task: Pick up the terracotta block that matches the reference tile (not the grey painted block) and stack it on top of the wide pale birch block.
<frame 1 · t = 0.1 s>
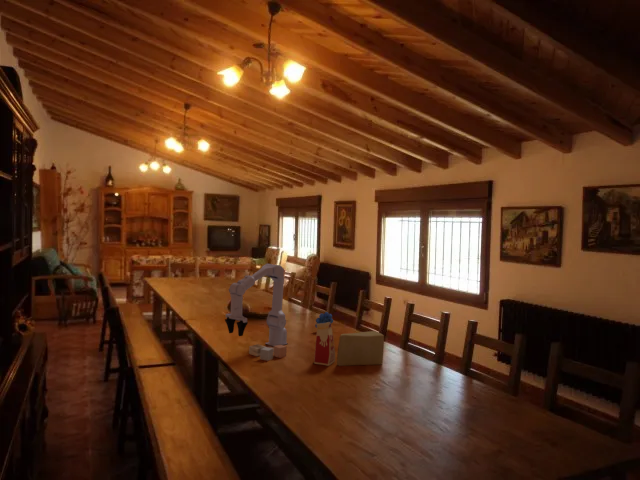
hand: (235, 334, 241), 10 cm above the table, tool pointing down, fingers open, 7 cm apart
grey painted block: (266, 358, 236), on the table
milk carton: (323, 362, 234), on the table
cheese: (358, 364, 234), on the table
terracotta block: (279, 356, 241), on the table
grapes: (323, 331, 296), on the table
birch base block: (257, 354, 243), on the table
reference tile: (269, 350, 251), on the table
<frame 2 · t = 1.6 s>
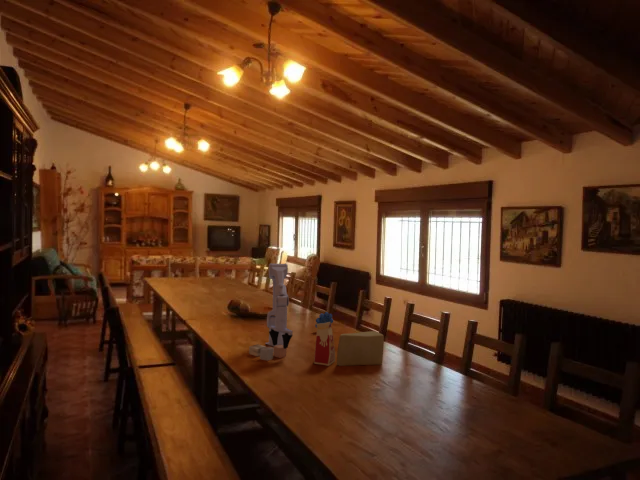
hand: (280, 346, 241), 5 cm above the table, tool pointing down, fingers open, 7 cm apart
nothing on the table moved.
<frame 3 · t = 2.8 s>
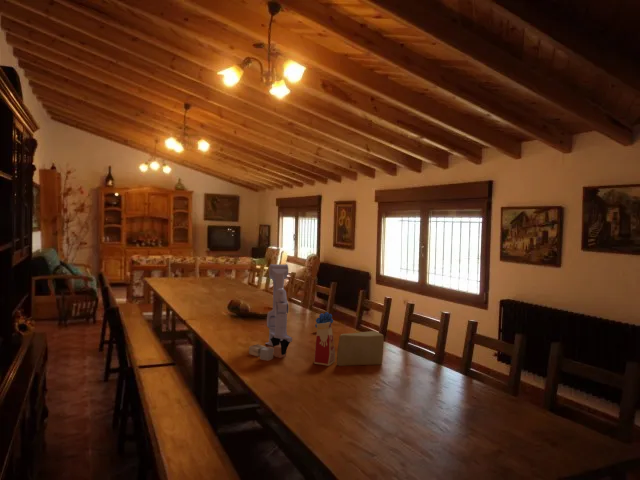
hand: (279, 353, 241), 1 cm above the table, tool pointing down, fingers closed on terracotta block, 4 cm apart
terracotta block: (279, 356, 241), on the table, touching gripper
everything else where it was.
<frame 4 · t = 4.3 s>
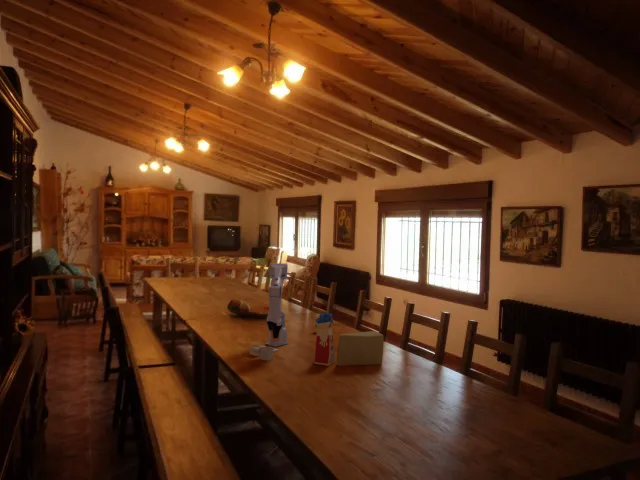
hand: (273, 336, 241), 9 cm above the table, tool pointing down, fingers closed on terracotta block, 4 cm apart
terracotta block: (273, 340, 241), point 7 cm above the table, touching gripper
everything else where it was.
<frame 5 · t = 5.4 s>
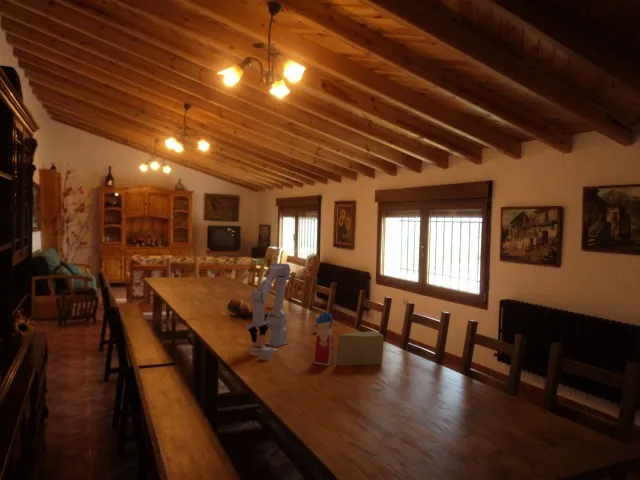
hand: (257, 340, 243), 7 cm above the table, tool pointing down, fingers closed on terracotta block, 4 cm apart
terracotta block: (257, 344, 243), point 5 cm above the table, touching gripper
everything else where it was.
when the fingers open (7 cm above the table, at t = 6.1 s): terracotta block stays where it is, resting on birch base block.
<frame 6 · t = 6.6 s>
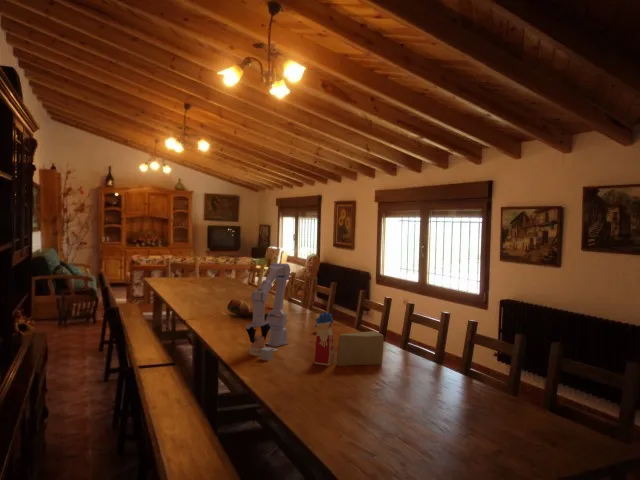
hand: (257, 340, 243), 7 cm above the table, tool pointing down, fingers open, 7 cm apart
terracotta block: (257, 346, 243), point 4 cm above the table, touching birch base block
birch base block: (257, 354, 243), on the table, touching terracotta block
everything else where it was.
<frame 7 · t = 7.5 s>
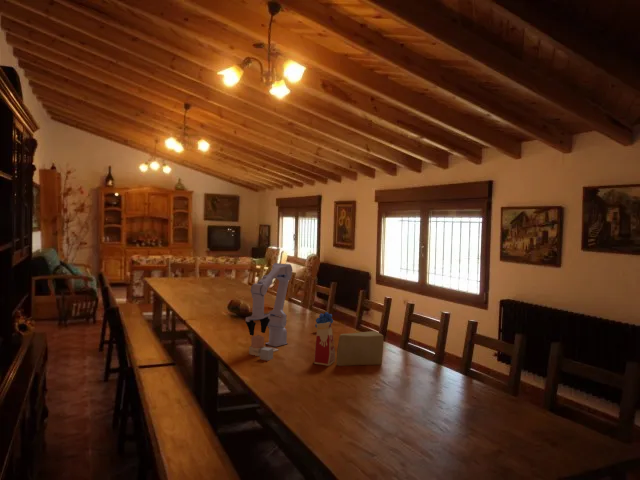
hand: (257, 333, 244), 10 cm above the table, tool pointing down, fingers open, 7 cm apart
terracotta block: (257, 346, 243), point 4 cm above the table
birch base block: (257, 354, 243), on the table
everything else where it was.
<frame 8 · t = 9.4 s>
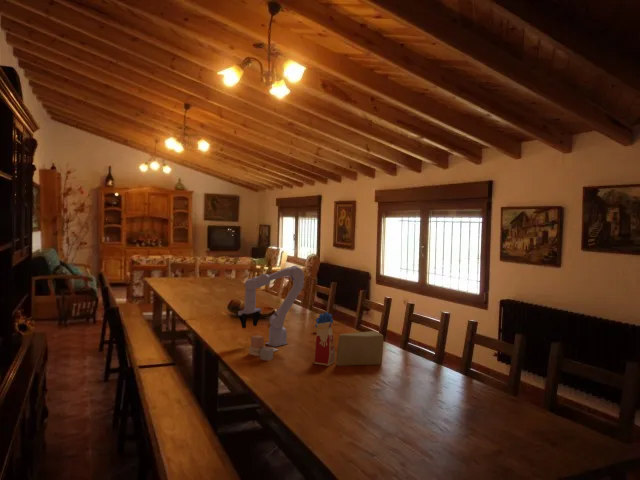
hand: (249, 326, 258), 10 cm above the table, tool pointing down, fingers open, 7 cm apart
terracotta block: (257, 346, 243), point 4 cm above the table, touching birch base block
birch base block: (257, 354, 243), on the table, touching terracotta block
everything else where it was.
at the end: terracotta block 0.4 cm off-centre on the birch base block, point 4.0 cm above the birch base block's base; terracotta block tilted 0°; the gripper is holding nothing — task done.
